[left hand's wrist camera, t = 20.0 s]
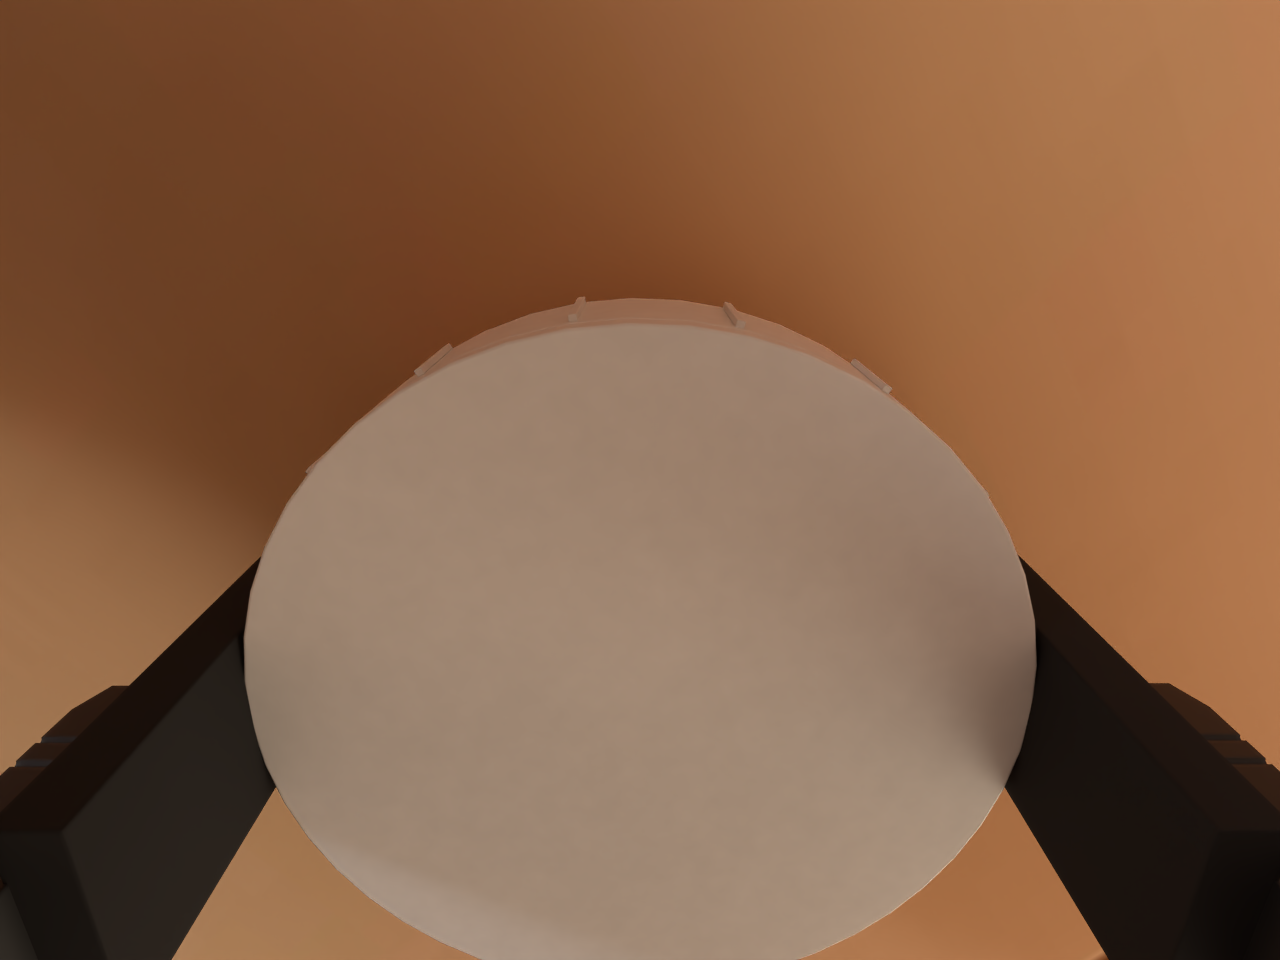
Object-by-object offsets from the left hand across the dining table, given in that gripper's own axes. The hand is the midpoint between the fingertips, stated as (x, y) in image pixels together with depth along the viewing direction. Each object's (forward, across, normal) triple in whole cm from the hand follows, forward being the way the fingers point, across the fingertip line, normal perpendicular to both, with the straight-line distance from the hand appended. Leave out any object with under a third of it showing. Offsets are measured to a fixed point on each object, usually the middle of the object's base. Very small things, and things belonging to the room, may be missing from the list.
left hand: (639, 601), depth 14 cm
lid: (-3, 0, 0) cm, 3 cm away
